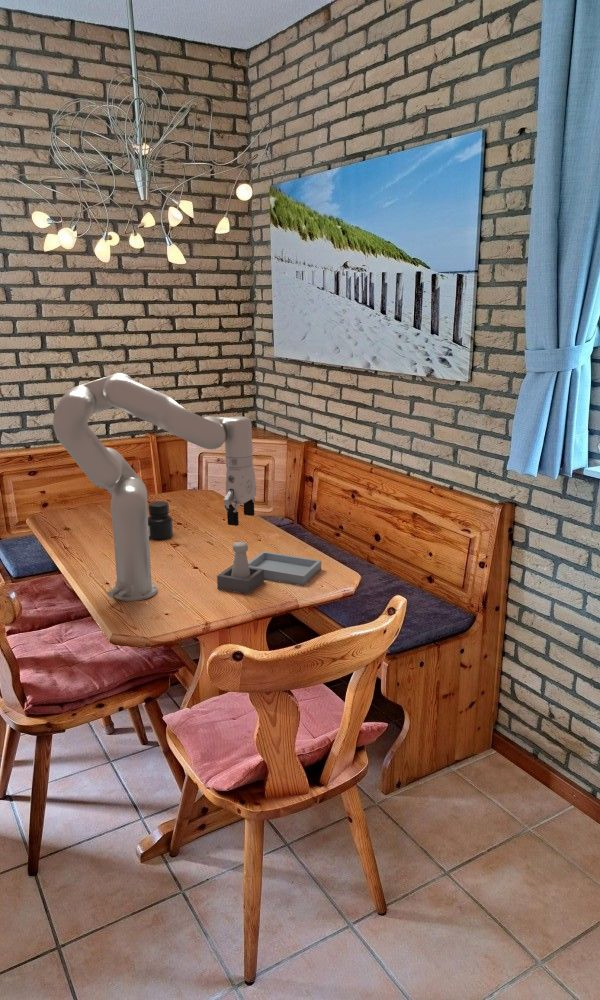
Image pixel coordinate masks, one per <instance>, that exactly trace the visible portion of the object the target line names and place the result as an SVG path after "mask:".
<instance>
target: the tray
mask: <svg viewBox="0 0 600 1000" xmlns="http://www.w3.org/2000/svg"><path fill="white" fill-rule="evenodd" d="M248 565H249V567H254V568H259V569H264V580H269V581H274V582H279V581H280V583H284V584H290V583H291V584H292V585H296V584H298V585H297V586H302V585H303V586H302V587H304V586H305V585H306V584H307V583H309V581H311V580H312V579H313V578H314V577H316V576H317V574H318V573H320V572H321V570H322V560H321V559H314V558H307V557H300V556H296V555H288V554H283V553H282V554H281V553H278V552H277V553H276V552H269V551H264V550H263V551H261V552H260V553H258V554H257V555H255V557H253V558H251V559H250V560H249V561H248ZM310 579H311V580H310Z"/></svg>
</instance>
